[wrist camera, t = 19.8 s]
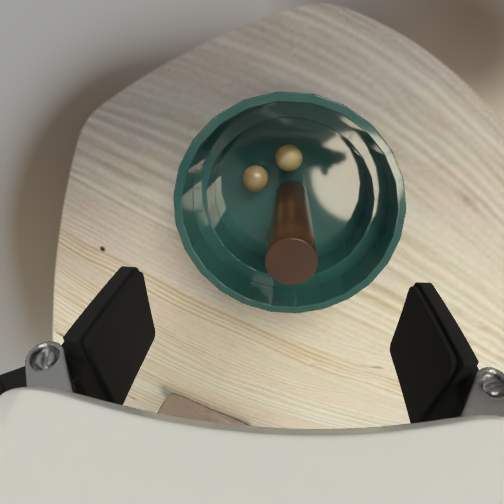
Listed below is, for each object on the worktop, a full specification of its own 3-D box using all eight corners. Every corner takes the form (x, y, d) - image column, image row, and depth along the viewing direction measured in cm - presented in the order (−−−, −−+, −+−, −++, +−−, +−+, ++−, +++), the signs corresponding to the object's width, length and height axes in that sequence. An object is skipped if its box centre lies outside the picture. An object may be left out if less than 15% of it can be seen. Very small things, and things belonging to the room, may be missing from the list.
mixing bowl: (162, 188, 25) (133, 209, 20) (294, 57, 19) (295, 42, 14) (283, 303, 29) (280, 343, 24) (415, 203, 23) (442, 227, 18)
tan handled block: (358, 454, 37) (156, 430, 31) (342, 467, 39) (150, 444, 32) (346, 419, 44) (163, 386, 37) (332, 432, 46) (157, 402, 39)
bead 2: (293, 179, 22) (275, 162, 23) (311, 159, 22) (292, 142, 22) (284, 174, 21) (265, 156, 21) (304, 152, 20) (283, 135, 20)
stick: (269, 194, 24) (253, 260, 14) (292, 173, 23) (293, 227, 13) (290, 215, 24) (289, 294, 15) (313, 196, 23) (328, 264, 14)
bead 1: (261, 162, 23) (248, 157, 21) (278, 178, 23) (266, 174, 21) (245, 182, 24) (231, 178, 22) (262, 198, 23) (248, 196, 22)
